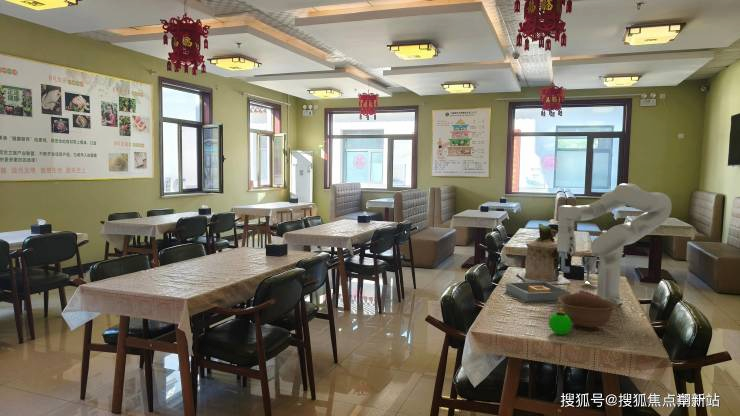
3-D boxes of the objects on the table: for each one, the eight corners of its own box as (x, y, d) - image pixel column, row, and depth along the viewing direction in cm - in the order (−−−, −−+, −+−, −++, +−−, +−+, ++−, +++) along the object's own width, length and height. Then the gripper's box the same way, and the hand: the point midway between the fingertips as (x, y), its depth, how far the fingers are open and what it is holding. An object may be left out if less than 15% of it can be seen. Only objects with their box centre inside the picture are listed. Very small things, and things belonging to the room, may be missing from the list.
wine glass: (580, 283, 276) (582, 256, 275) (579, 280, 284) (580, 254, 283) (596, 284, 274) (597, 257, 273) (594, 281, 282) (595, 255, 280)
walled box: (569, 301, 237) (570, 291, 237) (527, 302, 233) (527, 293, 233) (545, 290, 259) (545, 281, 259) (505, 291, 255) (506, 282, 255)
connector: (571, 272, 252) (571, 252, 252) (563, 272, 252) (564, 253, 251) (566, 271, 256) (566, 251, 256) (559, 271, 255) (559, 251, 255)
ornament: (565, 331, 193) (567, 305, 192) (575, 338, 184) (576, 311, 184) (545, 330, 192) (546, 305, 191) (553, 337, 184) (554, 311, 183)
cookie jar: (526, 283, 273) (528, 226, 271) (514, 274, 298) (517, 221, 296) (571, 284, 273) (574, 226, 270) (556, 275, 297) (559, 222, 295)
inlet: (550, 294, 246) (550, 289, 246) (536, 294, 245) (536, 289, 245) (542, 290, 254) (542, 285, 254) (528, 290, 253) (528, 286, 252)
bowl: (604, 320, 207) (605, 294, 206) (626, 338, 185) (628, 309, 184) (550, 318, 209) (551, 292, 208) (565, 335, 187) (566, 306, 186)
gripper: (582, 231, 245) (581, 268, 246) (563, 228, 262) (562, 262, 263) (568, 231, 244) (568, 268, 245) (550, 228, 260) (549, 263, 261)
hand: (565, 265), depth 254 cm, fingers closed on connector, 4 cm apart
